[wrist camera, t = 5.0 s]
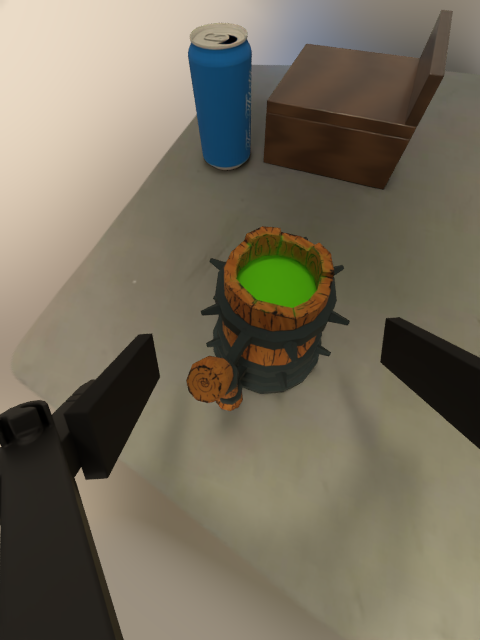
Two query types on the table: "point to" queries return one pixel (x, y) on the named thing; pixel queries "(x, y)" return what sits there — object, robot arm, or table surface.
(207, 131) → the beverage can
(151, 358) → the robot arm
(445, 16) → the brown wooden box
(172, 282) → the table surface
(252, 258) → the mug
